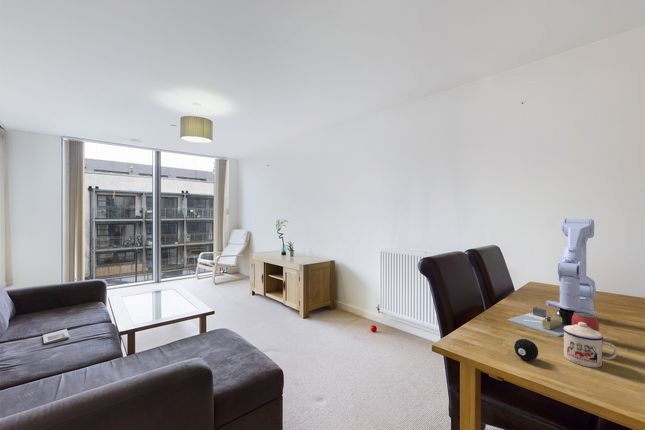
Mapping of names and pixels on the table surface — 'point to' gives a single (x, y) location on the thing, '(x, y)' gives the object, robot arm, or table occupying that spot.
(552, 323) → the swing bar
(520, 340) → the billiard ball
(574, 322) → the beer can
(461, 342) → the table surface
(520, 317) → the door panel
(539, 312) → the block
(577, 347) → the teacup with lid
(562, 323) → the door knob
